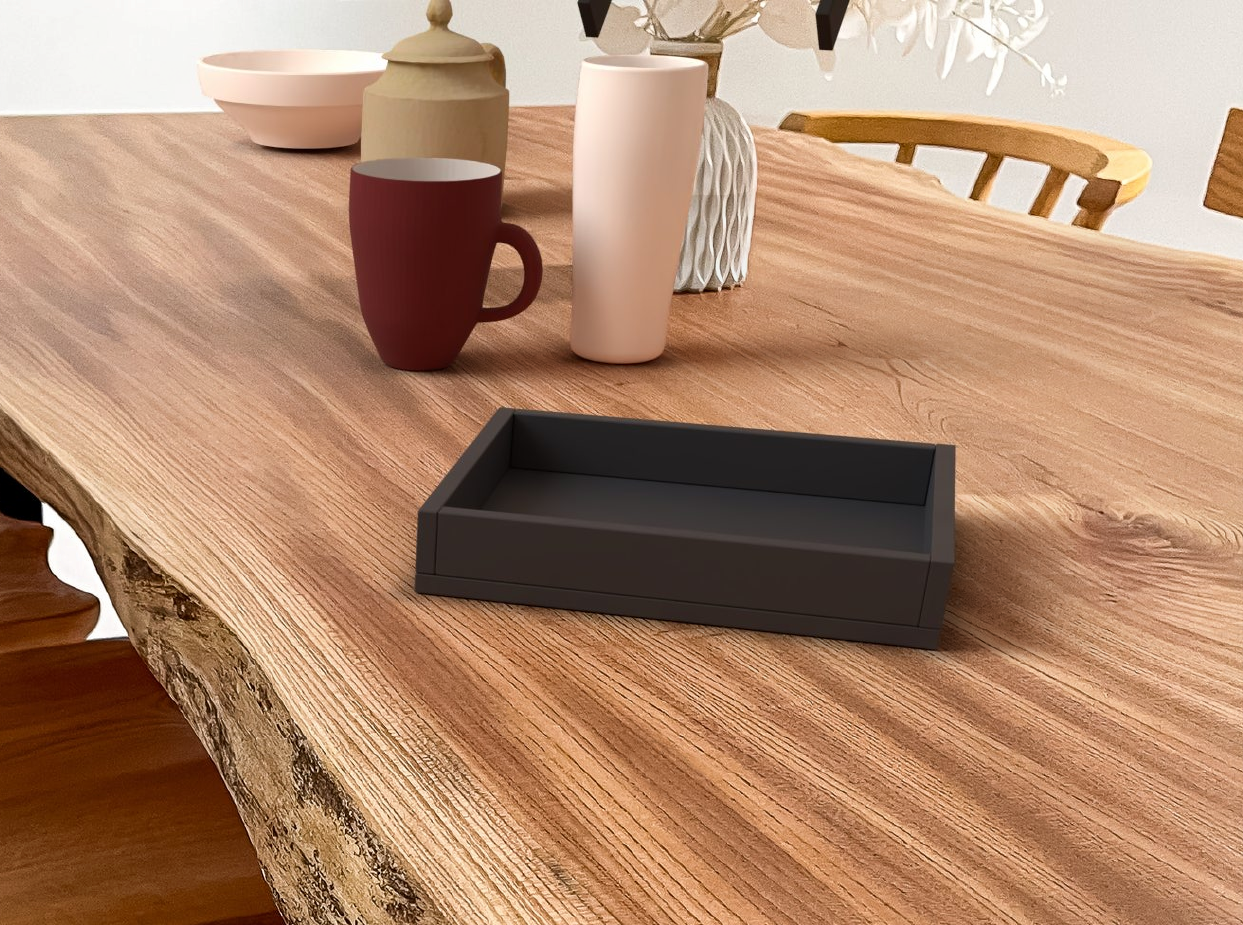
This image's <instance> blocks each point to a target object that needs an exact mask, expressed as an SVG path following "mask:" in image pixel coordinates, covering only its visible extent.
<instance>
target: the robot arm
mask: <svg viewBox="0 0 1243 925" xmlns="http://www.w3.org/2000/svg"><path fill="white" fill-rule="evenodd" d="M612 1H613V0H577V2H576V4H577V8H578V12H579V15H580V16H579V17H580V19H581V23H582V27H583V31H584V35H585V38H593V39H595V38H596V39H599V38H600V35H601V31H602V29H603V26H604V23H605V21H606V18H607V15H608V12H609V10H610V7H611V5H612ZM850 2H851V0H819V2H818V5H817V8H816V11H815V13H814V15H815V25H816V34H817V43H818V44H817V45H818V50H819V51H830V52H833V51H834V48H835V45H836V42H837V39H838V36H839V33H840V31H841V29H842V24H843V22H844V19H845V16H846V13H847V10H848V7H849V4H850Z"/></svg>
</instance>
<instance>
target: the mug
mask: <svg viewBox="0 0 1243 925" xmlns="http://www.w3.org/2000/svg"><path fill="white" fill-rule="evenodd" d="M348 190H349V192H348V223H349V234H350V242H351V249H352V256H353V264H354V272H355V279H356V286H357V287H356V288H357V293H358V302H359V306H360V308H359V309H360V313H361V316H362V319H363V322H364V324H365V327H366V329H367V331H368V335H369V336H370V338H371V341H372V343H373V345H374V348H375V349H376V351H377V353H378V355H379V359H380V360H381V362H382V363H383V364H385V365H386V366H387V367H392V368H395V369H399V370H406V371H435V370H442V369H446V368H448V367H450V366H452V365H453V364H454V363H455V361H456V360H457V358H459V357H458V356H459V355H460V353H461V351H462V350H463V348H464V347H465V345H466V343H467V341H468V339H469V338H470V336H471V334H472V332H473V331H474V329H475V328H476V326H477V324H478V323H481V324H482V323H494V322H501V321H506V320H509V319H512V318H514V317H515V316H519V315H520V314H522V313H523V312H524V311H526V310H527V309H528V308H530V306H531V305H532V304H533V302H534V301H535V299H536V298H537V296H538V293H539V291H540V289H541V286H542V281H543V274H544V266H543V259H542V255H541V251H540V249H539V247H538V244H537V242H536V241H535V239H534V238H533V236H532V235H531V233H529V232H528V230H526V229H525V228H523V227H522V226H521V225H518V224H515V223H511V222H504V221H502V208H501V198H502V170H501V169H500V168H499V167H497V166H494V165H491V164H487V163H482V162H477V161H470V160H460V159H448V158H391V159H380V160H372V161H366V162H362V163H361V162H358V163H355V164H353V165H352V166H351V167H350V174H349V189H348ZM497 244H505V245H508V246H510V247H512V248H513V249H514V250H515V251H516V252H517V253H518V255H519V257H520V259H521V262H522V266H523V282H522V286H521V289H520V292H519V294H518V295H517V297H516V298H514V299H513V301H512V302H510V303H508V304H506V305H502V306H496V307H484V299H485V293H486V288H487V284H488V279H489V274H490V271H491V266H492V262H493V259H494V258H493V257H494V254H495V250H496V248H497Z"/></svg>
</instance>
